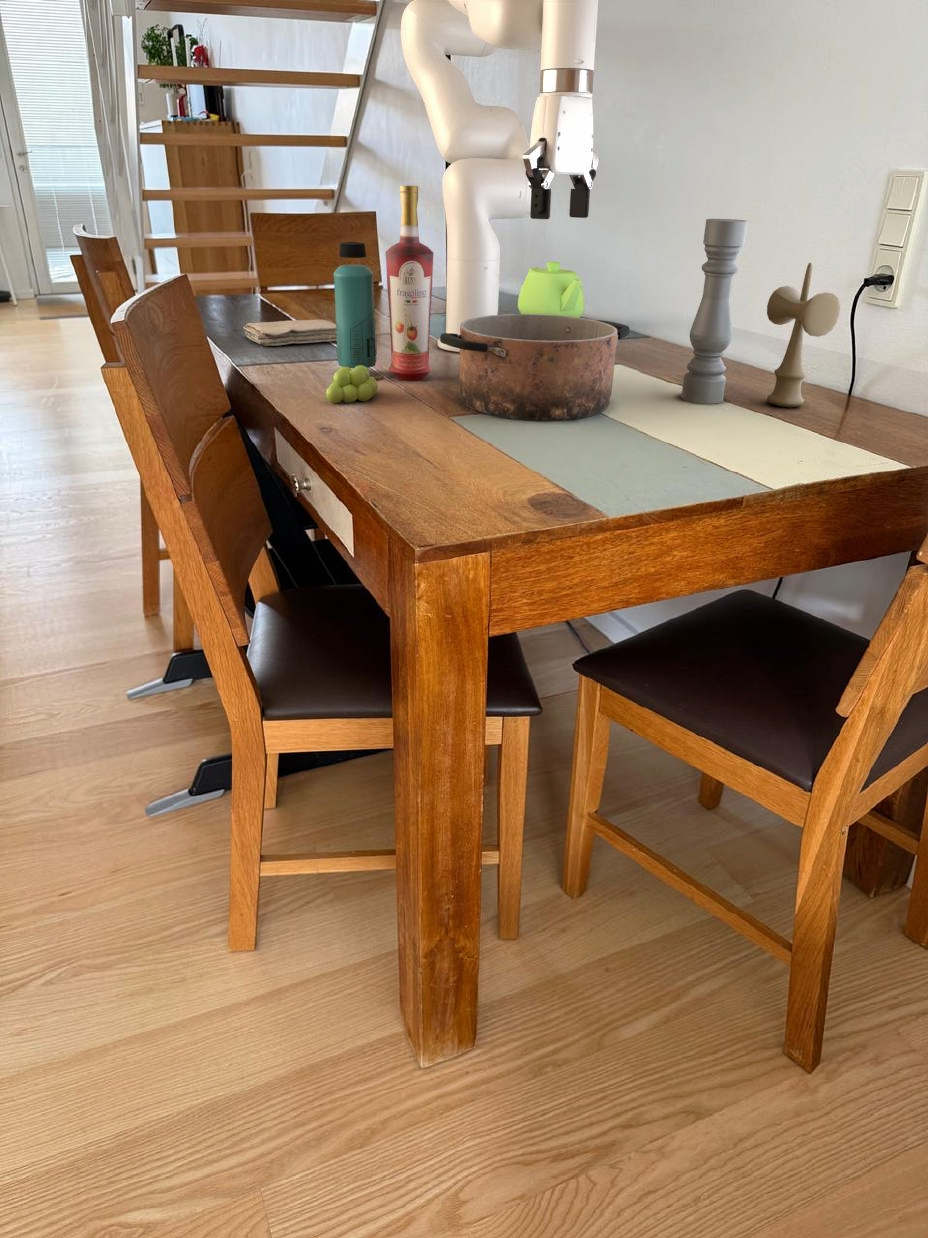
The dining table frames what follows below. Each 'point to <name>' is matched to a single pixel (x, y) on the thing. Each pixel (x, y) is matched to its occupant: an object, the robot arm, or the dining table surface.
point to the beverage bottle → (354, 310)
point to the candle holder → (714, 312)
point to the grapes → (352, 385)
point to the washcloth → (291, 332)
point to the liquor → (409, 294)
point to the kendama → (799, 333)
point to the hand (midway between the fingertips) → (559, 217)
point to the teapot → (551, 292)
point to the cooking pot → (536, 365)
